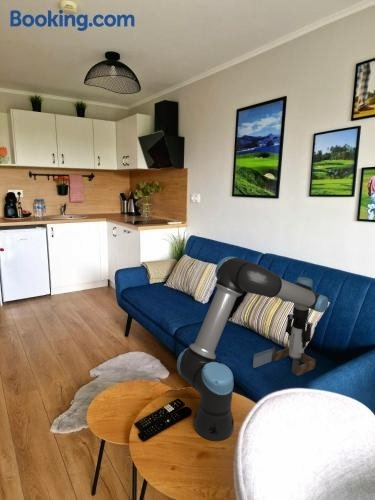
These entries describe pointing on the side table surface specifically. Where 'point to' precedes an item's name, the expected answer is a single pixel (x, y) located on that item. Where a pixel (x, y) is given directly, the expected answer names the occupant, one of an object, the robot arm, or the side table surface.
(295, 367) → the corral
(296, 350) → the travel mug
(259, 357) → the grey rectangular panel
